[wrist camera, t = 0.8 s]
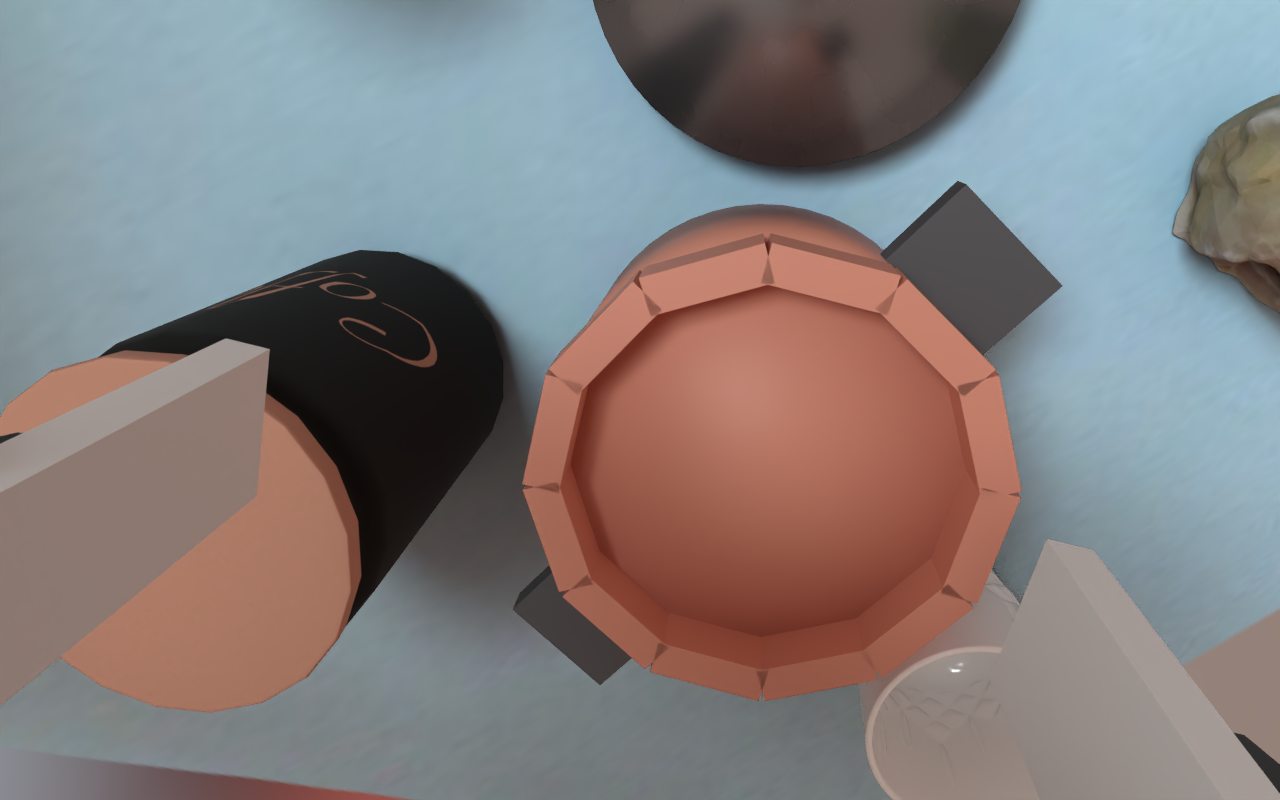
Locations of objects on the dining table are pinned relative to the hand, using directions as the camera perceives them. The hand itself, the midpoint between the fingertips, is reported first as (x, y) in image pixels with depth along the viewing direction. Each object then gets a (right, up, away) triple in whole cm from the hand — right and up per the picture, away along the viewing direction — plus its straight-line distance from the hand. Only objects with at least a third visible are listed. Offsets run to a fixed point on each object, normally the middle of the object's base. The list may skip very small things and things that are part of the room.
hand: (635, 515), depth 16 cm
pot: (+5, +3, +25) cm, 26 cm away
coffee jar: (-11, +4, +27) cm, 29 cm away
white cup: (+13, -7, +28) cm, 32 cm away
